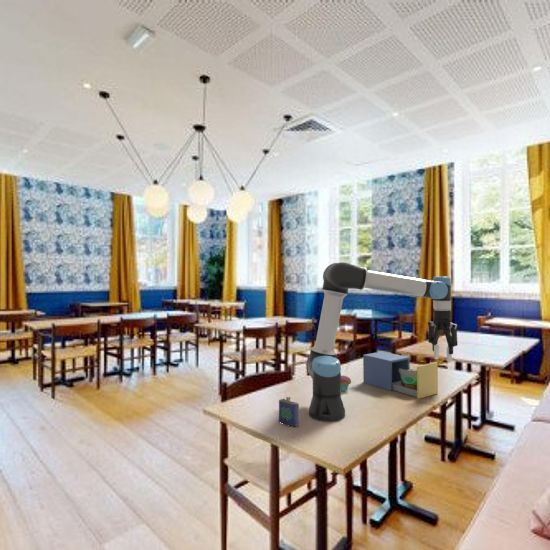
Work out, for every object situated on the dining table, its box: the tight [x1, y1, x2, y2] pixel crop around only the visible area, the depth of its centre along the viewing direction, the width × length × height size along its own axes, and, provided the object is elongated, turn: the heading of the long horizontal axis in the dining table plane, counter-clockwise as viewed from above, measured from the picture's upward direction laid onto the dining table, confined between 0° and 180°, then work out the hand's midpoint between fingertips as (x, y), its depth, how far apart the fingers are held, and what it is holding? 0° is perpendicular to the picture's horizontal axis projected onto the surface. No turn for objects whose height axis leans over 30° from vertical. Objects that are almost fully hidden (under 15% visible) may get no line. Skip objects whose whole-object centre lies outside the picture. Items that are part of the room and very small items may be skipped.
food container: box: [399, 368, 417, 390], centre depth 187 cm, size 12×6×10 cm, turn 68°
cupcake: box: [341, 375, 352, 392], centre depth 192 cm, size 9×8×12 cm
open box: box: [362, 351, 411, 391], centre depth 201 cm, size 15×18×15 cm
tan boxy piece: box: [392, 361, 439, 400], centre depth 187 cm, size 15×17×15 cm
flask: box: [278, 396, 300, 428], centre depth 148 cm, size 9×3×11 cm, turn 51°
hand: (442, 359), depth 174 cm, fingers open, 6 cm apart
